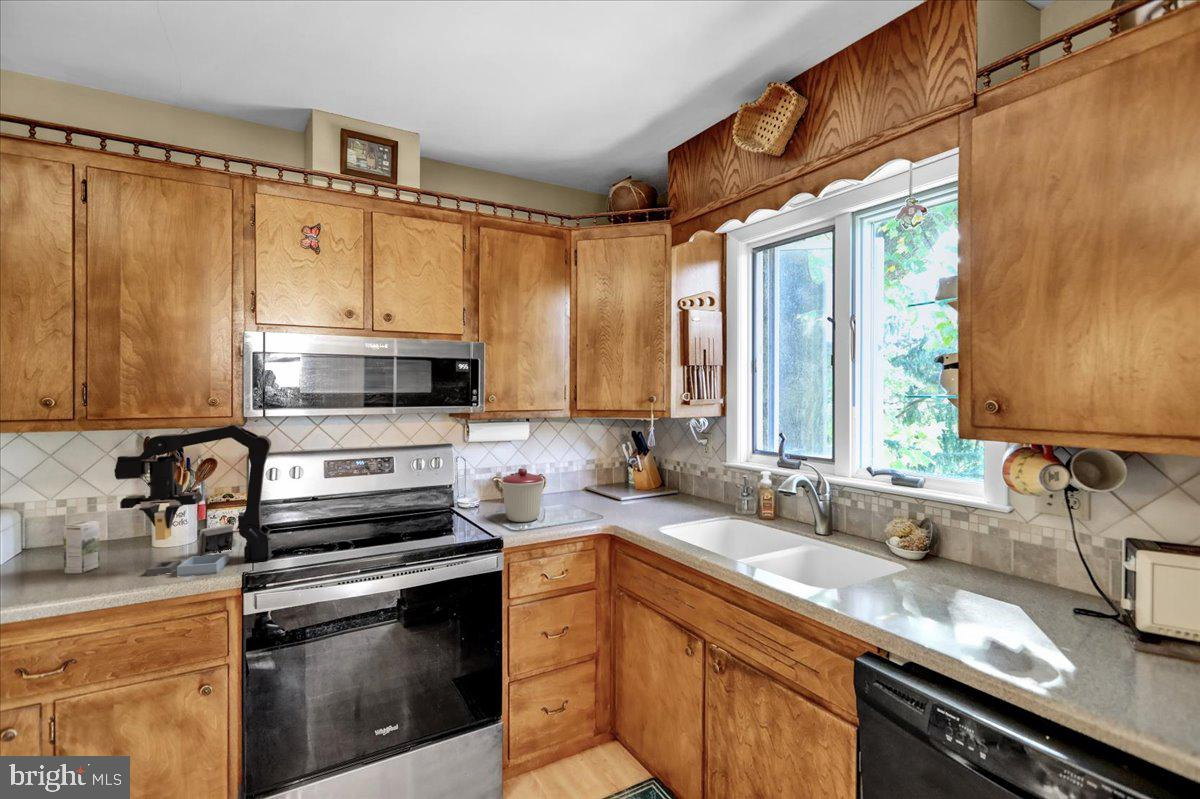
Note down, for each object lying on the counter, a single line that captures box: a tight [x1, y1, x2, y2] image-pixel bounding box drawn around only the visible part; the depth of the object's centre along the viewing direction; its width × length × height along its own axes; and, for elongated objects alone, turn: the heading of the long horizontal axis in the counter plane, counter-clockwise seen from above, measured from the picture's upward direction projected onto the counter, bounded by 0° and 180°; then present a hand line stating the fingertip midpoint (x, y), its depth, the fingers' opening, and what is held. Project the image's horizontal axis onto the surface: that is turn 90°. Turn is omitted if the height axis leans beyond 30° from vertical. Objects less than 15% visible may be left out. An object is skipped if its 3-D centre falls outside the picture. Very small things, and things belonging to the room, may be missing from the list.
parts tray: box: [176, 552, 230, 577], centre depth 165 cm, size 10×10×3 cm
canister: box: [500, 468, 546, 523], centre depth 225 cm, size 18×18×21 cm
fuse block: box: [145, 559, 182, 577], centre depth 164 cm, size 6×7×2 cm
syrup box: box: [62, 520, 101, 574], centre depth 164 cm, size 6×6×14 cm
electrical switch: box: [197, 523, 234, 556], centre depth 180 cm, size 9×5×9 cm, turn 141°
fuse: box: [154, 509, 172, 541], centre depth 163 cm, size 2×4×8 cm, turn 17°
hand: (163, 528), depth 163 cm, fingers closed on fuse, 2 cm apart
